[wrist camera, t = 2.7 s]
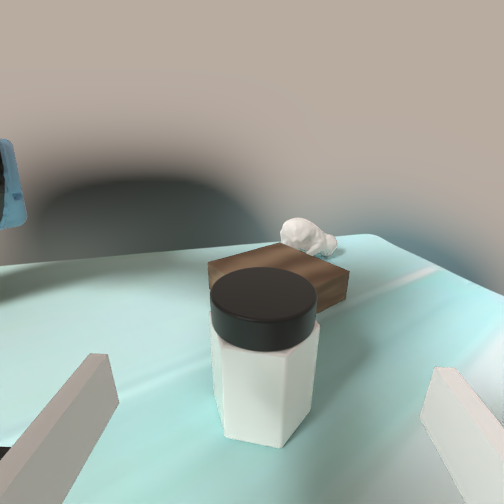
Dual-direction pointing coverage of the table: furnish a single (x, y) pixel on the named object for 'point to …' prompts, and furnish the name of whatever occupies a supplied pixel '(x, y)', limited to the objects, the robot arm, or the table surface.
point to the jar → (263, 352)
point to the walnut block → (285, 257)
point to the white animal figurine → (307, 237)
